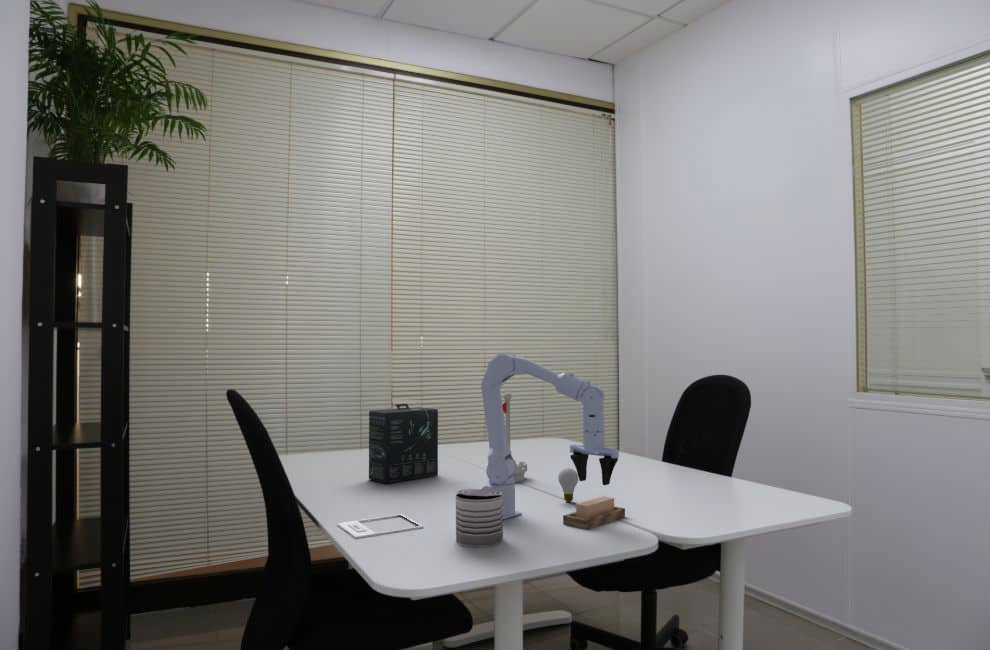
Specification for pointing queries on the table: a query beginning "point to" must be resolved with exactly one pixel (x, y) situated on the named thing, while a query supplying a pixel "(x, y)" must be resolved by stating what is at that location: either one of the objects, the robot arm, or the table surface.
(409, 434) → the headset box
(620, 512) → the wooden tray
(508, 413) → the flag stand
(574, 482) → the light bulb
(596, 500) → the block
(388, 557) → the table surface
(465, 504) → the can
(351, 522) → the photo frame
